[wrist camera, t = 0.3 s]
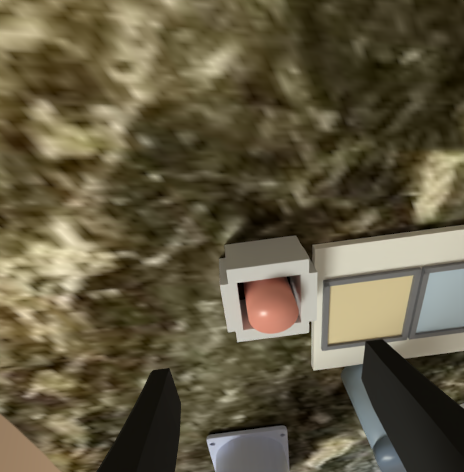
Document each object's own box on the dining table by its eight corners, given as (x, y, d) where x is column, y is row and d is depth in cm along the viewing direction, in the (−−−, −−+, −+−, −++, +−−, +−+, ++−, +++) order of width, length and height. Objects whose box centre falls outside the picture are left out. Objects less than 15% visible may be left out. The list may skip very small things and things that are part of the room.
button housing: (303, 302, 22) (316, 331, 19) (227, 312, 22) (229, 343, 19) (303, 234, 19) (317, 257, 17) (216, 245, 19) (217, 271, 17)
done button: (288, 298, 21) (299, 330, 18) (245, 304, 21) (250, 336, 18) (286, 262, 19) (298, 291, 17) (241, 268, 19) (245, 298, 17)
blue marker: (378, 383, 27) (428, 471, 21) (339, 388, 27) (376, 478, 21) (383, 355, 25) (438, 443, 19) (341, 361, 25) (382, 450, 19)
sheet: (483, 341, 25) (491, 350, 25) (311, 364, 25) (314, 373, 25) (532, 215, 20) (545, 221, 19) (312, 244, 20) (316, 251, 19)
